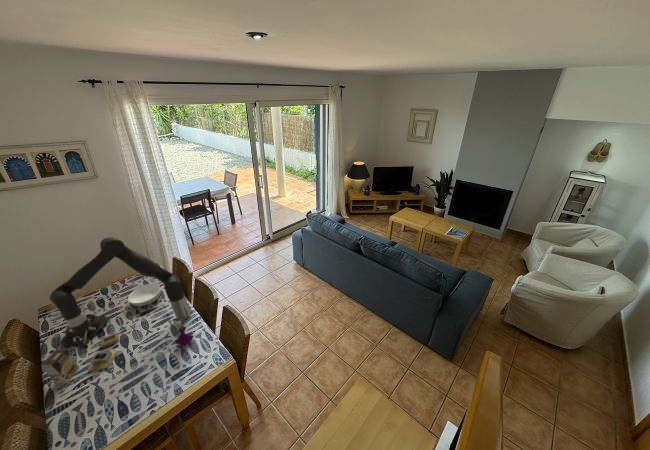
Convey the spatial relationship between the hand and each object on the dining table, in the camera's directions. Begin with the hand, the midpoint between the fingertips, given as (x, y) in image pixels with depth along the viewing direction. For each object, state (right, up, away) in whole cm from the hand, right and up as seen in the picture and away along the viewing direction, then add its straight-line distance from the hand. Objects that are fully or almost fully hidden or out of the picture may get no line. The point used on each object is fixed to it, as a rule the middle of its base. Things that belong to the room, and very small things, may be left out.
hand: (91, 341), depth 144 cm
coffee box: (-14, -20, +1) cm, 24 cm away
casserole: (-27, -6, +27) cm, 39 cm away
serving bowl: (-5, +8, +53) cm, 53 cm away
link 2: (0, -14, +8) cm, 16 cm away
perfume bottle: (+42, -10, +19) cm, 48 cm away
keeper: (0, -16, +8) cm, 18 cm away
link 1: (-6, -9, +20) cm, 23 cm away
